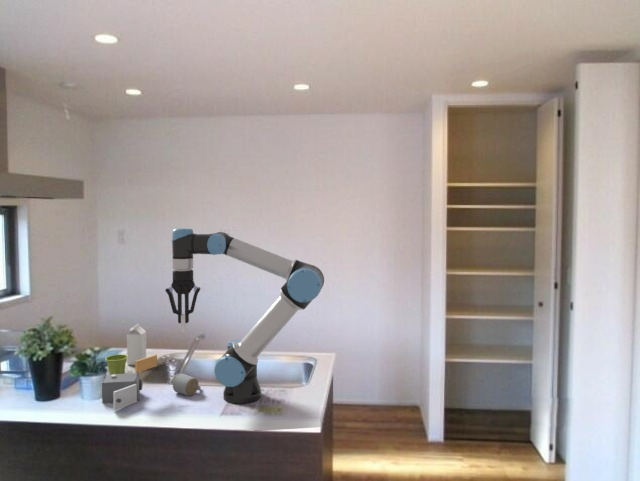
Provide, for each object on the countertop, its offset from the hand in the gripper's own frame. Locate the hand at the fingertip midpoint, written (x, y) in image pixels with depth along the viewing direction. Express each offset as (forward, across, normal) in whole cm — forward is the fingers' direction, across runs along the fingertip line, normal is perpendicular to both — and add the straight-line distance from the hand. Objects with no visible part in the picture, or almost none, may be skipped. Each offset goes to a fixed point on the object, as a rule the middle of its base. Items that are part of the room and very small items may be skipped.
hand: (183, 331), depth 190 cm
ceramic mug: (+30, 0, -16) cm, 34 cm away
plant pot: (+30, +34, -41) cm, 61 cm away
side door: (+29, +18, -8) cm, 36 cm away
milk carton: (+30, +29, -60) cm, 73 cm away
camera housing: (+29, +26, -14) cm, 42 cm away
